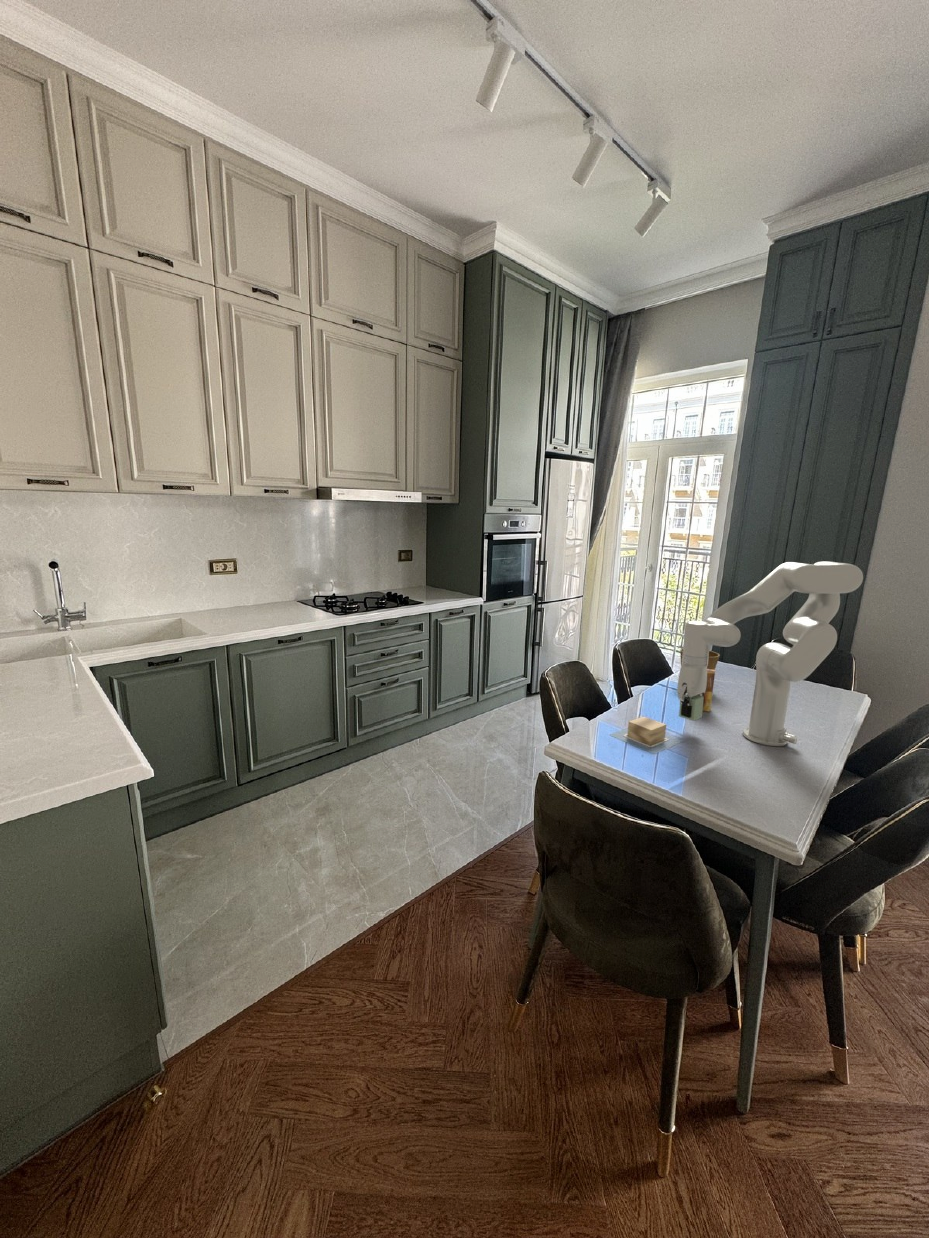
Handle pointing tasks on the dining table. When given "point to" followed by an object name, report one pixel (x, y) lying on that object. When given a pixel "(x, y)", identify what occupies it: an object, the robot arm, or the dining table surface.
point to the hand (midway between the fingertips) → (690, 713)
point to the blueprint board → (652, 749)
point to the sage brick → (694, 707)
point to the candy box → (708, 690)
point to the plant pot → (711, 660)
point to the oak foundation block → (646, 730)
